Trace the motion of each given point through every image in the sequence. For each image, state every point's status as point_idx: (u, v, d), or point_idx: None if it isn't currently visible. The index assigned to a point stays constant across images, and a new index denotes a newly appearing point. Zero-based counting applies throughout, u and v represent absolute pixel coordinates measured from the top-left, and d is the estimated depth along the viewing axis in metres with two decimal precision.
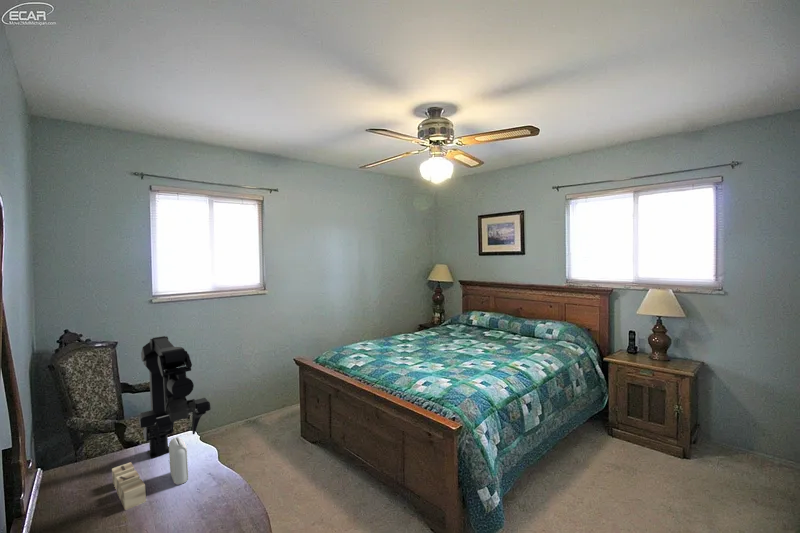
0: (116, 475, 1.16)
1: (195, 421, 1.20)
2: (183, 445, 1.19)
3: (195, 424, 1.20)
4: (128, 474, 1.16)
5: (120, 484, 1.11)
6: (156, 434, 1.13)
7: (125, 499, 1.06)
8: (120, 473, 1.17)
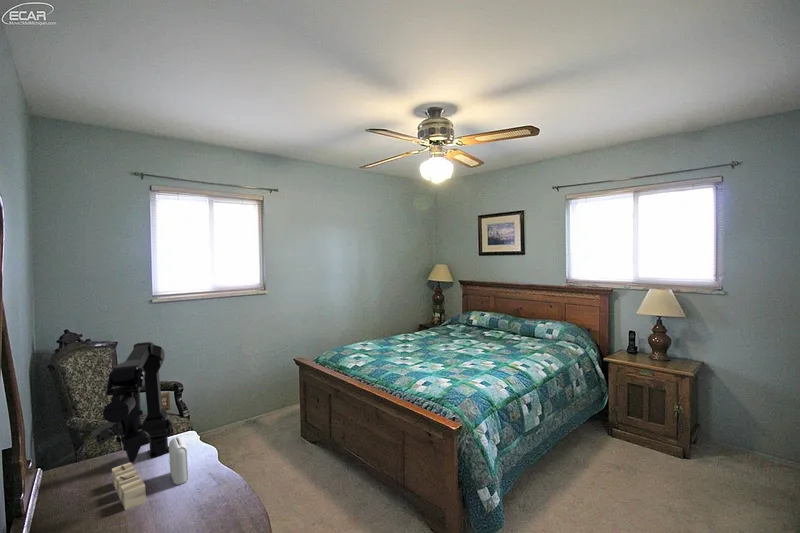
0: (116, 475, 1.16)
1: None
2: (183, 445, 1.19)
3: (126, 453, 1.08)
4: (128, 474, 1.16)
5: (120, 484, 1.11)
6: None
7: (125, 499, 1.06)
8: (120, 473, 1.17)
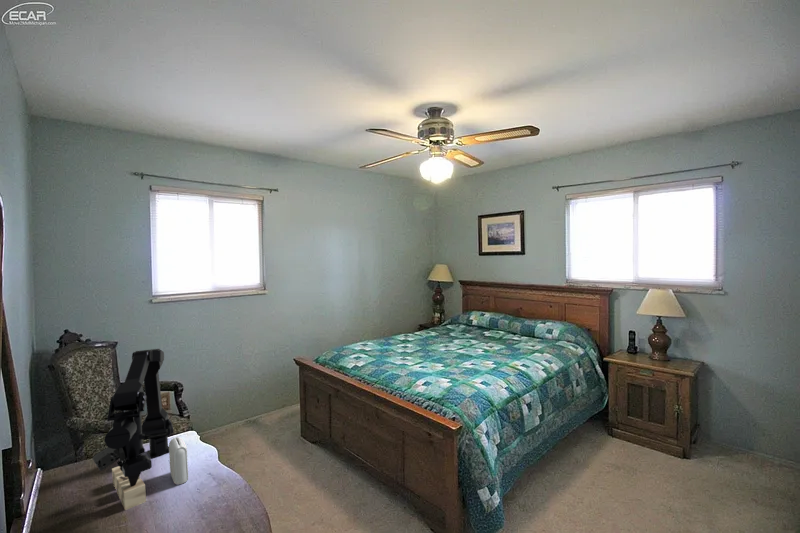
0: (116, 475, 1.16)
1: None
2: (183, 445, 1.19)
3: (128, 477, 1.08)
4: None
5: (120, 484, 1.11)
6: None
7: (125, 499, 1.06)
8: (120, 473, 1.17)
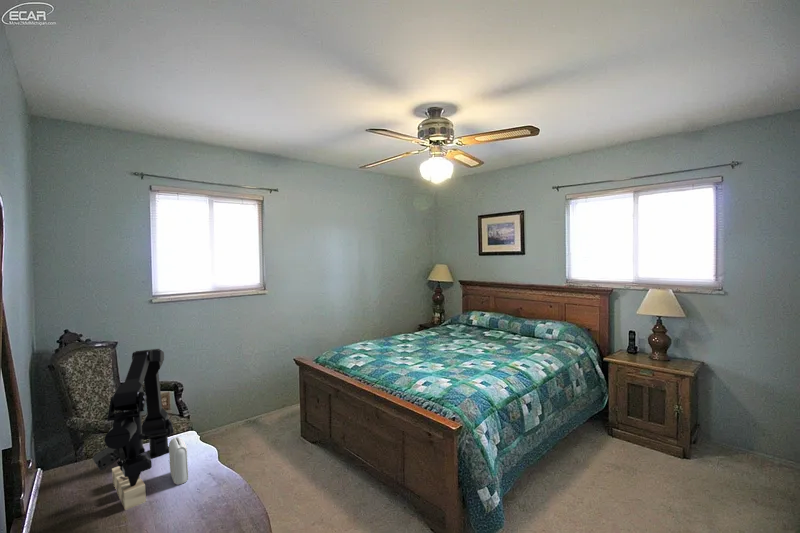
0: (116, 475, 1.16)
1: None
2: (183, 445, 1.19)
3: (128, 476, 1.08)
4: None
5: (120, 484, 1.11)
6: None
7: (125, 499, 1.06)
8: (120, 473, 1.17)
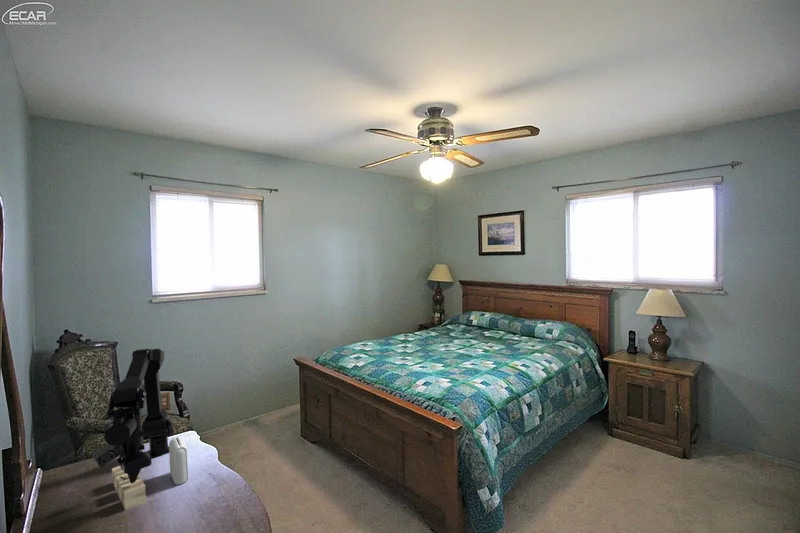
0: (116, 475, 1.16)
1: None
2: (183, 445, 1.19)
3: (127, 473, 1.08)
4: None
5: (120, 484, 1.11)
6: None
7: (125, 499, 1.06)
8: (120, 473, 1.17)
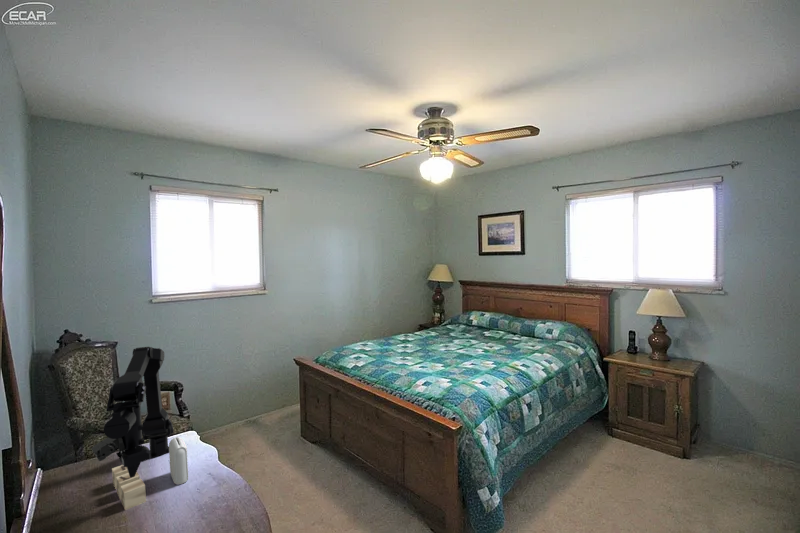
0: (116, 475, 1.16)
1: None
2: (183, 445, 1.19)
3: (127, 467, 1.08)
4: (128, 474, 1.16)
5: (120, 484, 1.11)
6: None
7: (125, 499, 1.06)
8: (120, 473, 1.17)
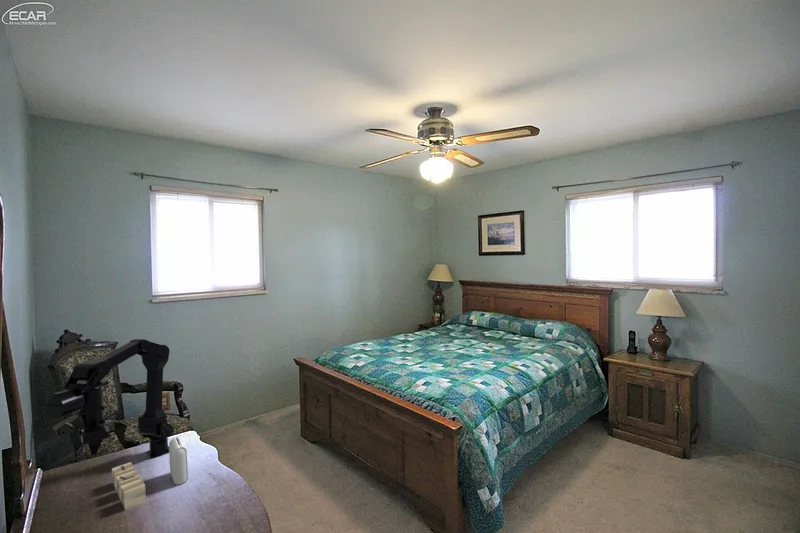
0: (116, 475, 1.16)
1: (87, 443, 1.13)
2: (183, 445, 1.19)
3: (88, 446, 1.13)
4: (128, 474, 1.16)
5: (120, 484, 1.11)
6: None
7: (125, 499, 1.06)
8: (120, 473, 1.17)
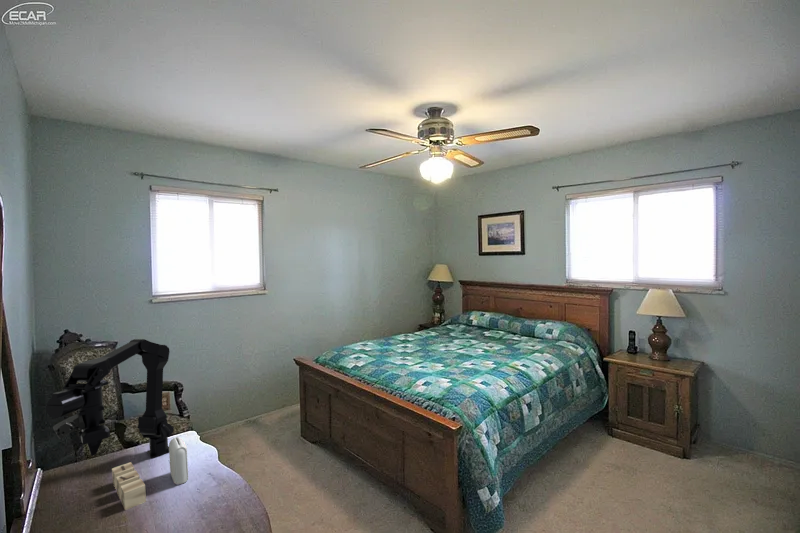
0: (116, 475, 1.16)
1: (87, 443, 1.13)
2: (183, 445, 1.19)
3: (88, 446, 1.13)
4: (128, 474, 1.16)
5: (120, 484, 1.11)
6: None
7: (125, 499, 1.06)
8: (120, 473, 1.17)
